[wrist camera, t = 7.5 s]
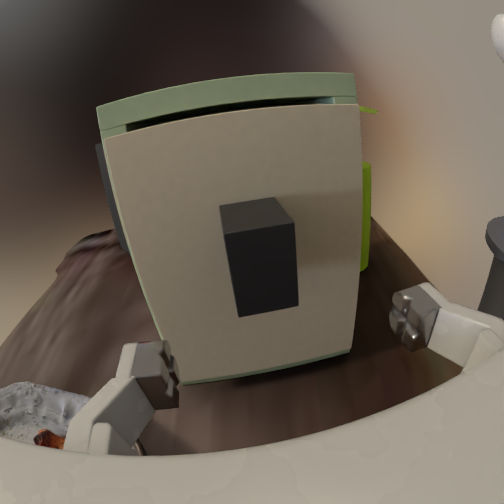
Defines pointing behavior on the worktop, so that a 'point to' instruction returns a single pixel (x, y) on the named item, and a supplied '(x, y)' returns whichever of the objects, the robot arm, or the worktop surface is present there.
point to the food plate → (41, 414)
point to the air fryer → (220, 101)
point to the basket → (246, 233)
